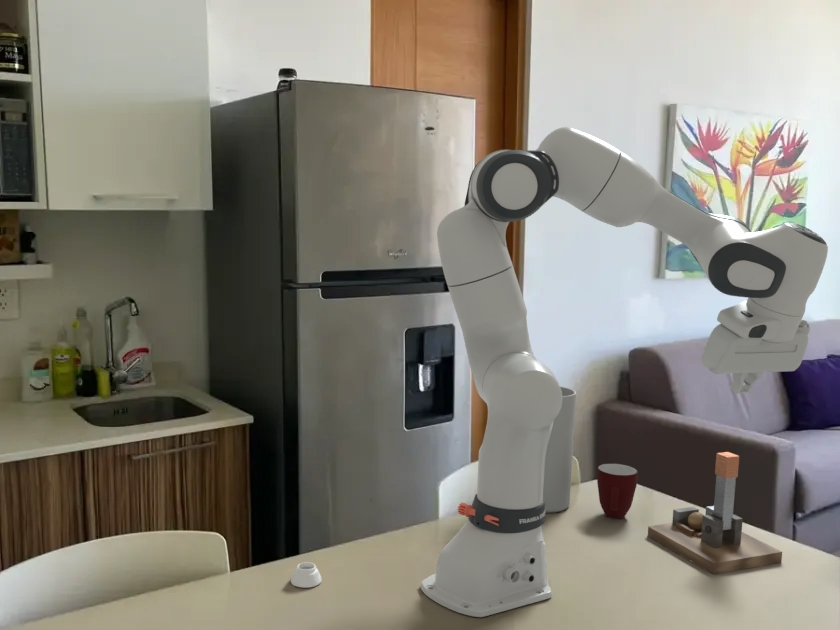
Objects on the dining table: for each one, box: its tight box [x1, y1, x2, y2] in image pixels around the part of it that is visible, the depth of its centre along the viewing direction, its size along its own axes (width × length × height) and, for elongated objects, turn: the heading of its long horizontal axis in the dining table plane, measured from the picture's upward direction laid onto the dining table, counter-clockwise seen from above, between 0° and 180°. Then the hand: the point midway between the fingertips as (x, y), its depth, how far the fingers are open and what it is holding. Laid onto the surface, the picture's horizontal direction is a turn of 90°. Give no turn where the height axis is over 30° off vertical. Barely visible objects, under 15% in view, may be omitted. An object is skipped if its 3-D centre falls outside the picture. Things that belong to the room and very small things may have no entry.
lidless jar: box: [290, 561, 323, 589], centre depth 134 cm, size 5×3×5 cm
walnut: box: [688, 512, 704, 531], centre depth 157 cm, size 4×4×4 cm
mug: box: [596, 463, 638, 520], centre depth 167 cm, size 11×8×10 cm
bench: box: [647, 506, 783, 575], centre depth 153 cm, size 16×18×7 cm
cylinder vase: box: [543, 385, 577, 514], centre depth 173 cm, size 12×12×25 cm
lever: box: [704, 451, 740, 530], centre depth 151 cm, size 3×5×14 cm, turn 23°
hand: (739, 391), depth 139 cm, fingers closed
